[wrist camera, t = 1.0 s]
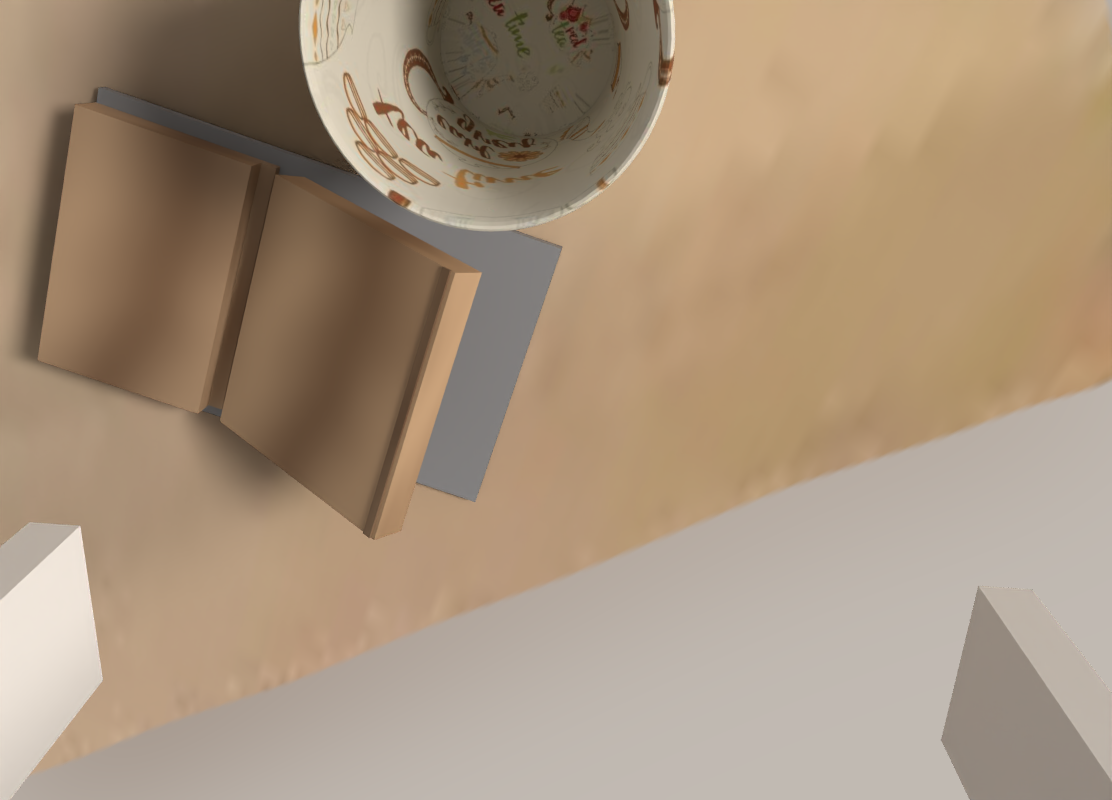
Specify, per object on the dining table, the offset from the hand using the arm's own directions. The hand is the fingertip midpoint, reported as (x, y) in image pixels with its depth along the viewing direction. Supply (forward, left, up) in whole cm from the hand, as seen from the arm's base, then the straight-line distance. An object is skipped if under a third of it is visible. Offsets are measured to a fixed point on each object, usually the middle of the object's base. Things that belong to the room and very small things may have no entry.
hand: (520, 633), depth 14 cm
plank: (-7, -3, -17) cm, 19 cm away
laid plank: (-14, -3, -20) cm, 25 cm away
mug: (-3, +9, -20) cm, 22 cm away
